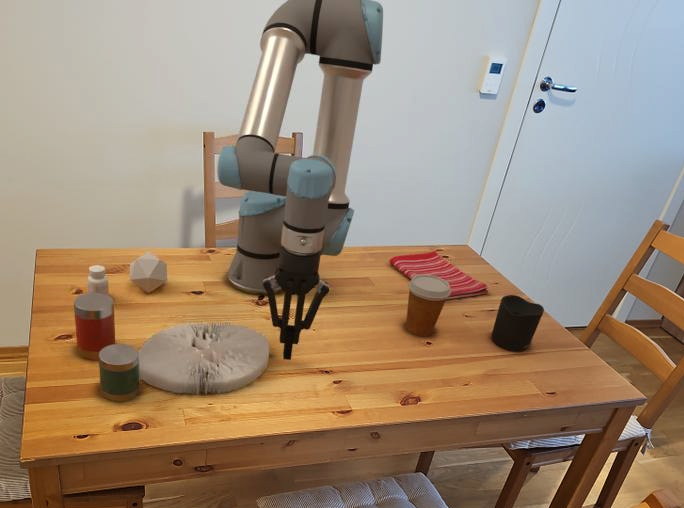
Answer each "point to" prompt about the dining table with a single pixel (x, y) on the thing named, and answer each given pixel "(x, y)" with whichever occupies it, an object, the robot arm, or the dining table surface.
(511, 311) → the pen holder
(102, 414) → the dining table surface
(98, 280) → the pill bottle
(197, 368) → the spiky fractal disc
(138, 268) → the die
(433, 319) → the disposable coffee cup
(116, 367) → the bean tin
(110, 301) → the tomato tin
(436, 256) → the dish towel
